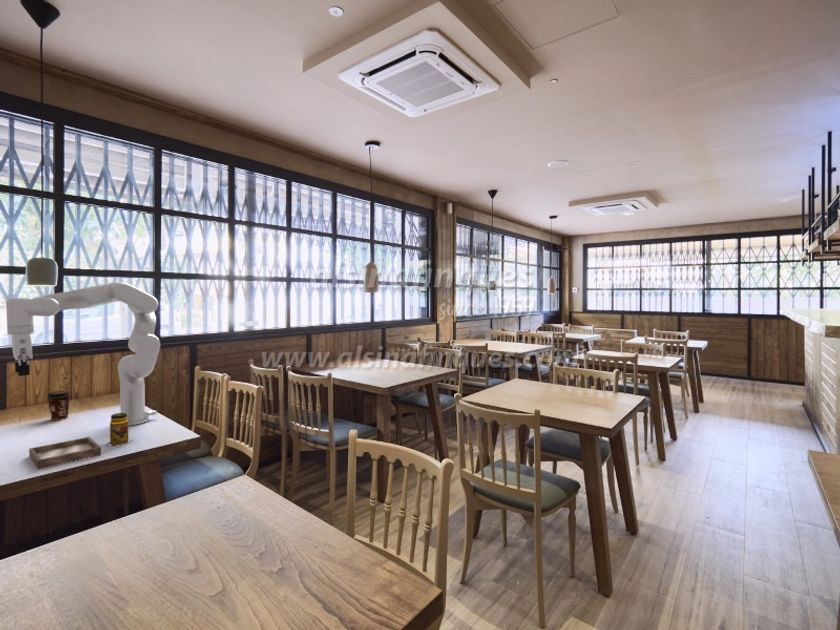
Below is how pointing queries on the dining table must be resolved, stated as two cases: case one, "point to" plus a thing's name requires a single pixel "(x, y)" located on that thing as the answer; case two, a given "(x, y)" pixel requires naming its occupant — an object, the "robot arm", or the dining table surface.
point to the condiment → (118, 430)
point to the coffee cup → (59, 404)
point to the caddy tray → (64, 452)
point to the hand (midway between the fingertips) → (22, 373)
